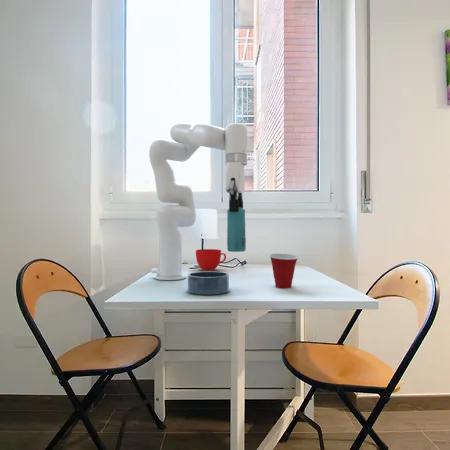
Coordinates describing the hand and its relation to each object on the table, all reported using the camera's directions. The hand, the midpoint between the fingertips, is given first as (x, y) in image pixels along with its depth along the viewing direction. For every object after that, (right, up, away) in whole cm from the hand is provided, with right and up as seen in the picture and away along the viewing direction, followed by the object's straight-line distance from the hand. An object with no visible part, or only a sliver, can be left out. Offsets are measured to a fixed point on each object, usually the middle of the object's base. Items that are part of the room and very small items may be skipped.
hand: (236, 211), depth 122 cm
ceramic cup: (-11, -28, +57) cm, 64 cm away
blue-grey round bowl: (-10, -28, +1) cm, 29 cm away
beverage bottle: (0, -15, 0) cm, 15 cm away
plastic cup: (+18, -28, +10) cm, 35 cm away
